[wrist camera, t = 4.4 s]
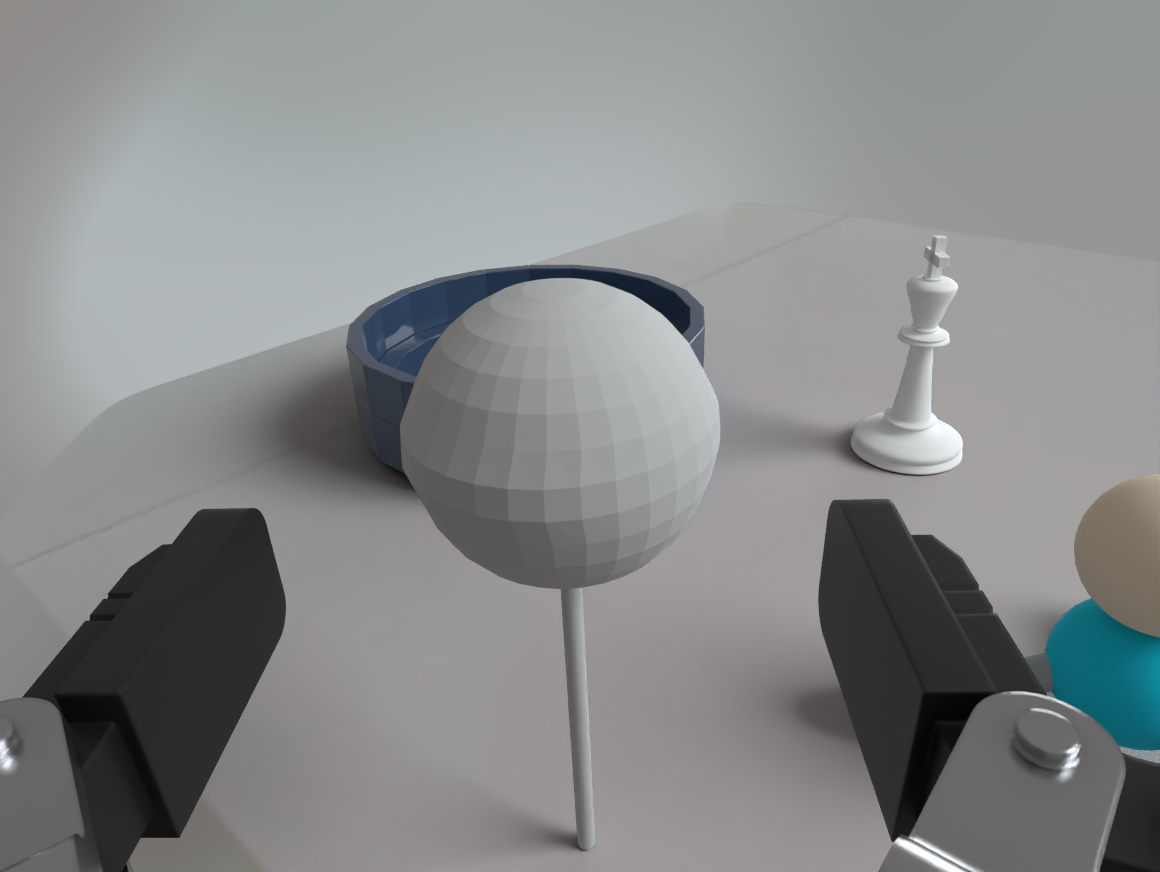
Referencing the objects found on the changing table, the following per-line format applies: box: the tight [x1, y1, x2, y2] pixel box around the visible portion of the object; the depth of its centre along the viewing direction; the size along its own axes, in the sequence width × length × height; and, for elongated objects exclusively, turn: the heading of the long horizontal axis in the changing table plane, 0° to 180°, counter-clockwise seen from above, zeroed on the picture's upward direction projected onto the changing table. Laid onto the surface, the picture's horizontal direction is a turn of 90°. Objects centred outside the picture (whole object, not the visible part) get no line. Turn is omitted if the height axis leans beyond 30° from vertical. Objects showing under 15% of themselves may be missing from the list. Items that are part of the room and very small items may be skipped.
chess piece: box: [851, 235, 963, 475], centre depth 37 cm, size 5×5×10 cm
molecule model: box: [1024, 474, 1160, 751], centre depth 21 cm, size 12×12×9 cm
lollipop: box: [400, 278, 720, 850], centre depth 18 cm, size 6×6×15 cm
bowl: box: [346, 265, 705, 474], centre depth 42 cm, size 17×17×6 cm
